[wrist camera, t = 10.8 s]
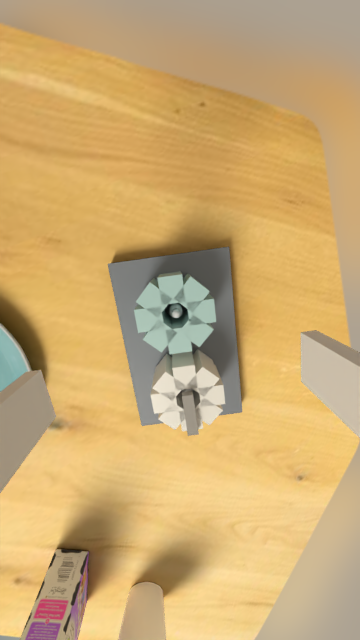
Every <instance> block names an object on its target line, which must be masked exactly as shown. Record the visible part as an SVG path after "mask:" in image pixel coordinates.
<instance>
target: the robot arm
mask: <svg viewBox="0 0 360 640" xmlns="http://www.w3.org/2000/svg"><path fill="white" fill-rule="evenodd" d="M301 382H302V383H303V384H304V385H305V386H306V387H307V388H308V389H309V390H310V391H311V392H313V393H314V394H315V395H316V396H317V397H318V398H319V399H320V400H321V401H322V402H323V403H324V404H325V405H326V406H327V407H328V408H329V409H330V410H331V411H332V412H333V413H334V414H335V415H336V416H337V417H338V418H339V419H340V420H342V421H343V422H344V423H345V424H346V425H347V426H348V427H349V428H350V429H351V430H352V431H353V432H354V433H355V434H356V435H357V436H358V437H359V438H360V352H358V351H356V350H354V349H352V348H350V347H348V346H346V345H344V344H342V343H340V342H338V341H336V340H334V339H332V338H330V337H328V336H326V335H324V334H323V333H321V332H319V331H317V330H314V331H307V332H301ZM55 417H56V415H55V412H54V408H53V405H52V402H51V399H50V396H49V393H48V390H47V387H46V384H45V381H44V377H43V374H42V371H41V370H35V371H28V372H25V373H24V374H23V375H21V376H20V377H19V378H17V379H16V380H15V381H14V382H12V383H11V384H10V385H9V386H7V387H6V388H5V389H3V390H2V391H1V392H0V493H1V491H2V490H3V489H4V487H5V486H6V485H7V483H8V482H9V480H10V479H11V478H12V476H13V475H14V474H15V472H16V471H17V469H18V468H19V467H20V465H21V464H22V463H23V461H24V460H25V458H26V457H27V456H28V454H29V453H30V452H31V450H32V449H33V447H34V446H35V445H36V443H37V442H38V441H39V439H40V438H41V436H42V435H43V434H44V432H45V431H46V430H47V428H48V427H49V426H50V424H51V423H52V421H53V420H54V419H55Z"/></svg>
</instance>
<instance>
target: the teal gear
mask: <svg viewBox="0 0 360 640" xmlns="http://www.w3.org/2000/svg"><path fill="white" fill-rule="evenodd" d="M157 279H158V281H157V280H156V279H155V278H153V279H152V280H151V281H150V283H149V284H148V285H147V287H146V288H145V290H144V291H143V292H142V294H141V295H140V296H139V298H138V299H137V301H136V302H137V303H138V305H137V306H136V308H135V309H134V313H135V319H136V324H137V329H138V333H141V332H145V335H144V337H143V340H144V341H145V342H147V343H148V344H150V345H151V346H153V347H154V348H156V349H157V350H159V351H160V352H163V350H164V349H165V348H166V346H167V345H168V348H169V354H176V353H183V352H191V351H192V345H191V342H193V343H194V344H195V345H197V346H198V347H200V346H201V345H202V344H203V342H204V341H205V340H206V339H207V337H208V336H209V335H210V334H211V333H212V331H213V330H214V329H213V327H212V325H211V324H210V323H212V322H216V314H215V304H214V298H213V297H212V296H211V295H210V294H209V292H210V291H209V290H208V289H207V288H206V287H205V286H203V285H202V284H201V283H200V282H198V281H197V280H196V279H194V278H193V277H192V276H191V275H189V274H188V273H187V274H186V276H185V277H184V278H183V277H182V273H181V271H179V272H172V273H165V274H160V275H159V276H158V277H157ZM173 303H180V304H182V305H183V306H184V307H186V310H185V311H184V313H183V314H182V315H181V316H180V317H179V318H173V317H171V316H170V315H169V314H167V313H166V312H165V308H166V307H167V305H168V304H173Z"/></svg>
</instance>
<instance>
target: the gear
mask: <svg viewBox="0 0 360 640" xmlns="http://www.w3.org/2000/svg"><path fill="white" fill-rule="evenodd" d="M191 388H192V389H193V391H187V392H182V391H181V390H183V389H191ZM151 400H152V405H153V411H154V414H156V413H159V415H158V420H160V421H162V422H163V423H165V424H166V425H168V426H170V427H171V428H173V429H175V430H176V428H177V427H178V426H179V425H180V424H181V426H182V431H187V433H188V436H189V435H197V434H199V433H198V429H203V424H202V421H204V422H205V423H207V424H208V425H210V424H211V423H212V422H213V421H214V420H215V419H216V418H217V416H218V415H219V414H220V413H221V412H222V411H223V409H222V406H221V404H225V396H224V386H223V383H222V380H221V378H220V375H219V373H218V370H217V368H216V365H214V363H213V360H212V359H211V358H209V357H208V356H207V355H205V354H204V353H202V352H201V351H200V350H198V349H197V350H196V352H195V353H194V354H192V351H191V352H183V353H176V354H172V357H171V356H170V355H168V354H166V355H165V356H164V357H163V359H162V360H161V361H160V362H159V364H158V365H157V366H156V368H155V373H154V377H153V383H152V389H151Z"/></svg>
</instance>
